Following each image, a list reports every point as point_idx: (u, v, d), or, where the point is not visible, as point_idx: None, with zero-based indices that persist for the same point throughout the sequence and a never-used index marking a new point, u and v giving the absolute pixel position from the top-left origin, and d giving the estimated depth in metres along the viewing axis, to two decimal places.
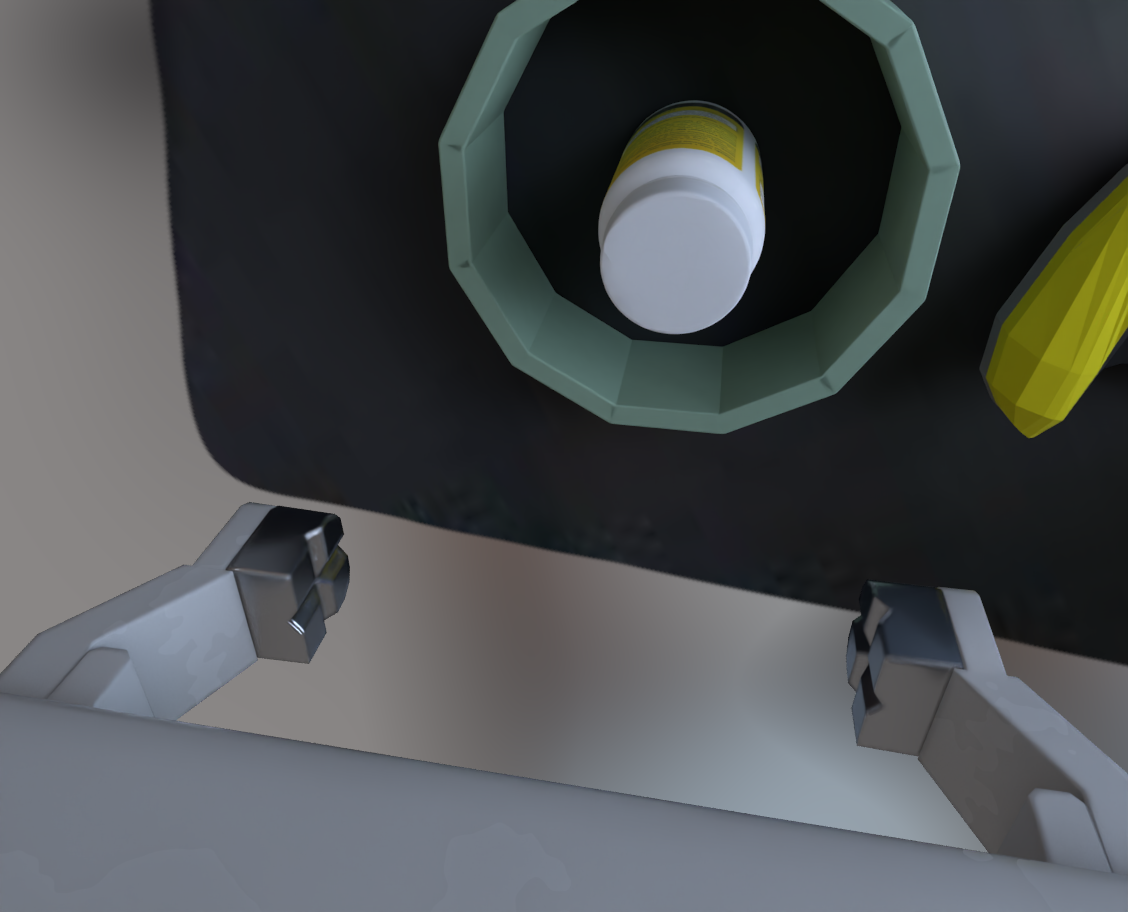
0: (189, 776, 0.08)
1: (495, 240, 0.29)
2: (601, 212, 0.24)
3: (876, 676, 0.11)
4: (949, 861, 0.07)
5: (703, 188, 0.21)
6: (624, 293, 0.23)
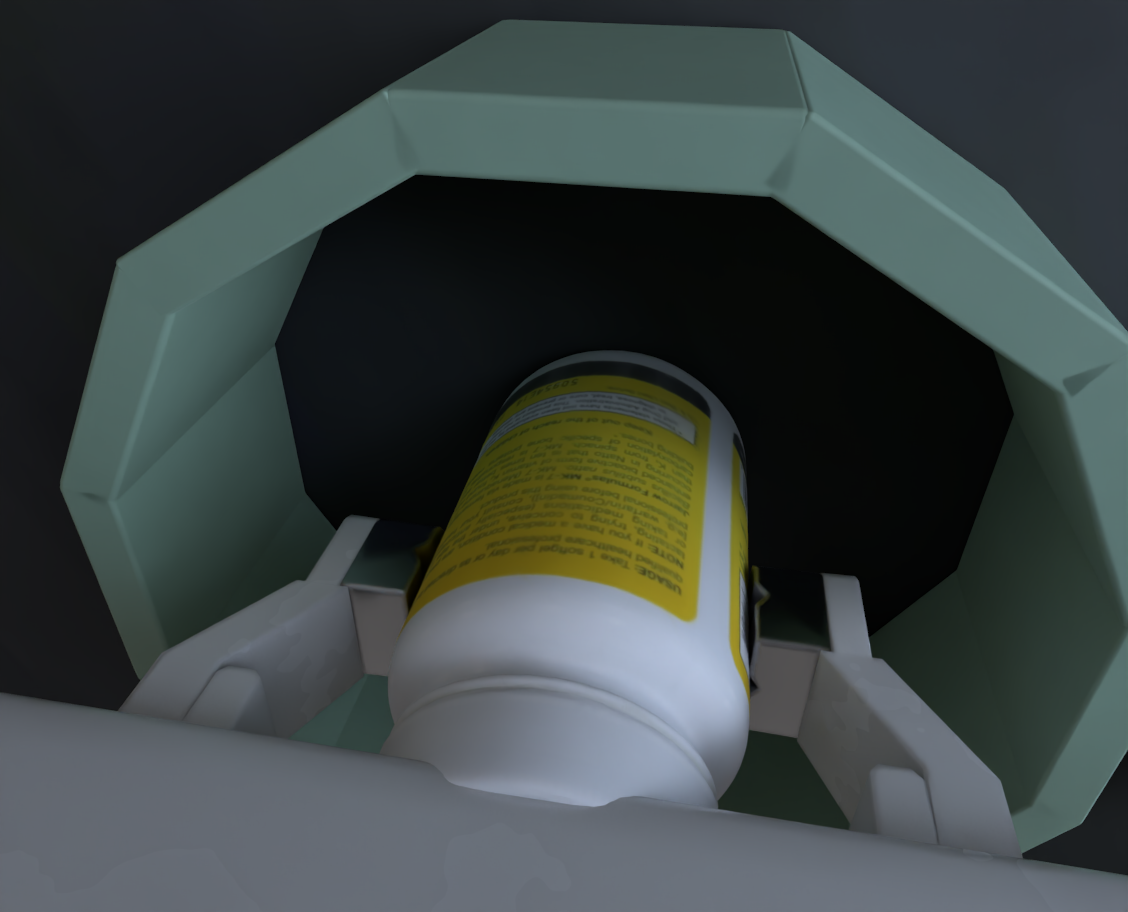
0: (189, 776, 0.08)
1: (259, 577, 0.16)
2: (389, 672, 0.11)
3: (751, 659, 0.11)
4: (949, 861, 0.07)
5: (593, 745, 0.08)
6: None
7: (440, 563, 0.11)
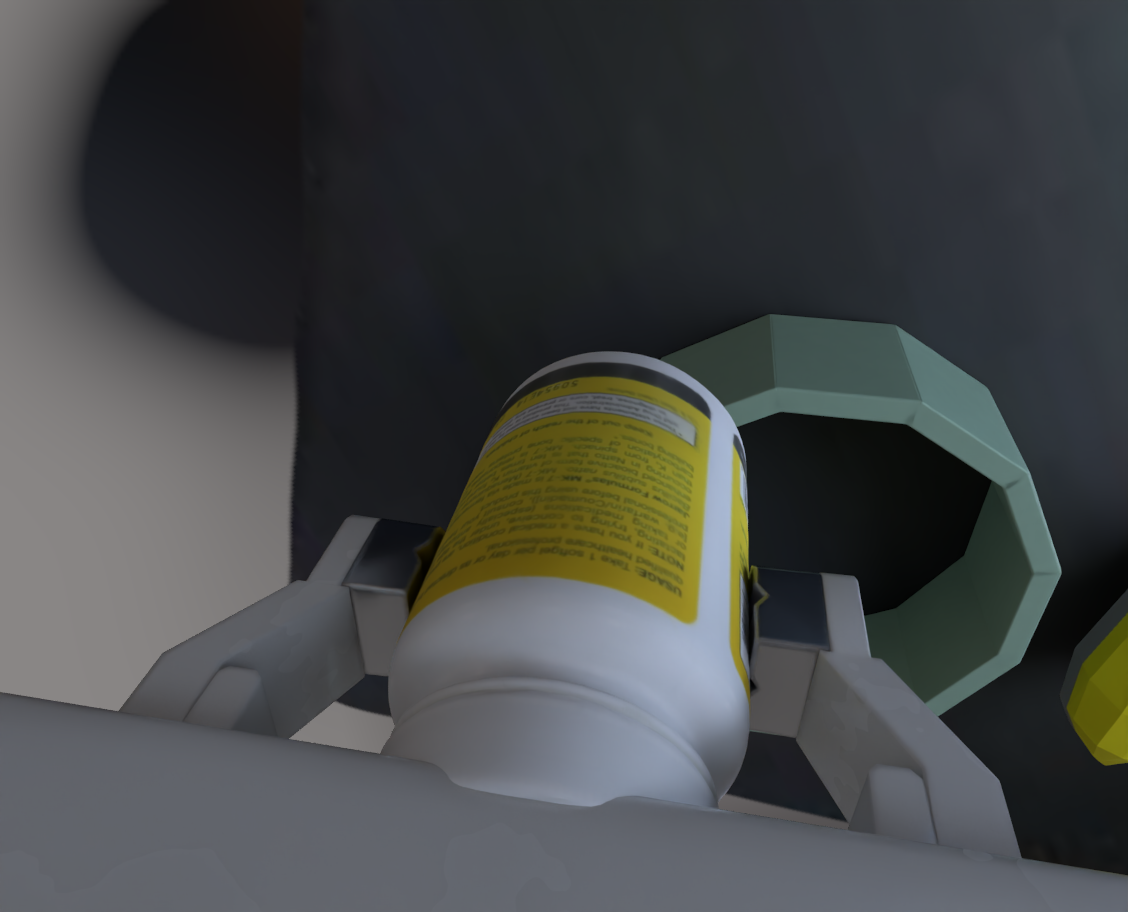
0: (189, 776, 0.08)
1: None
2: (389, 674, 0.11)
3: (750, 658, 0.11)
4: (949, 861, 0.07)
5: (593, 750, 0.08)
6: None
7: (440, 565, 0.11)
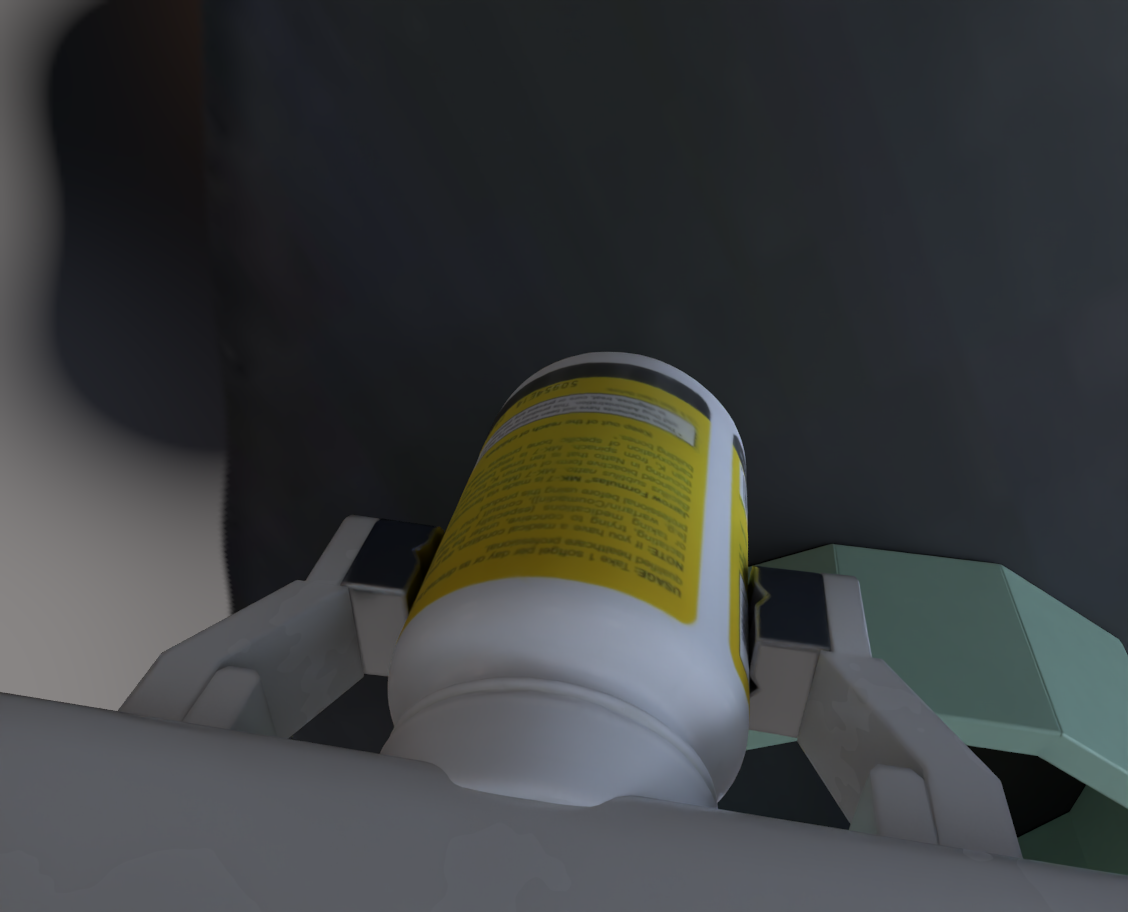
0: (189, 776, 0.08)
1: None
2: (389, 674, 0.11)
3: (751, 659, 0.11)
4: (949, 861, 0.07)
5: (592, 749, 0.08)
6: None
7: (440, 565, 0.11)
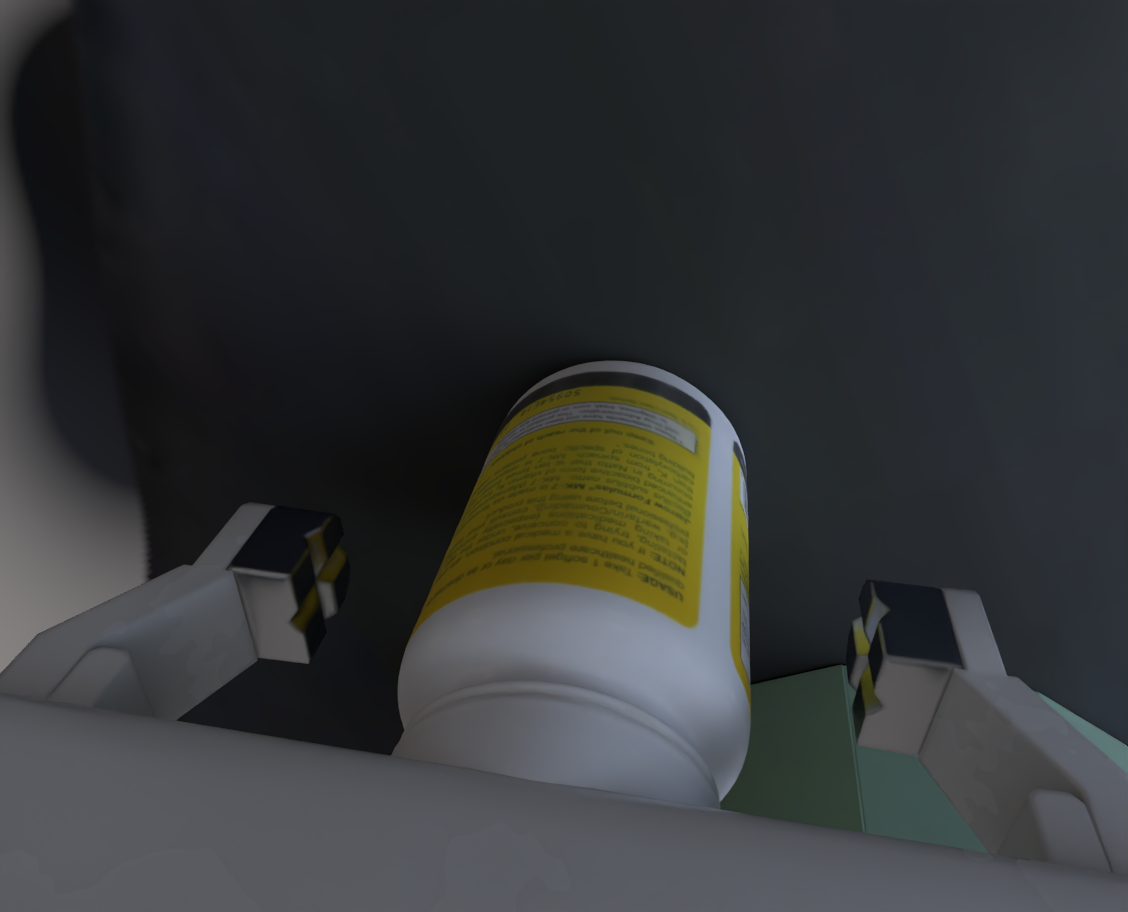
0: (189, 776, 0.08)
1: None
2: (399, 678, 0.11)
3: (876, 676, 0.11)
4: (949, 861, 0.07)
5: (598, 750, 0.09)
6: None
7: (448, 571, 0.11)
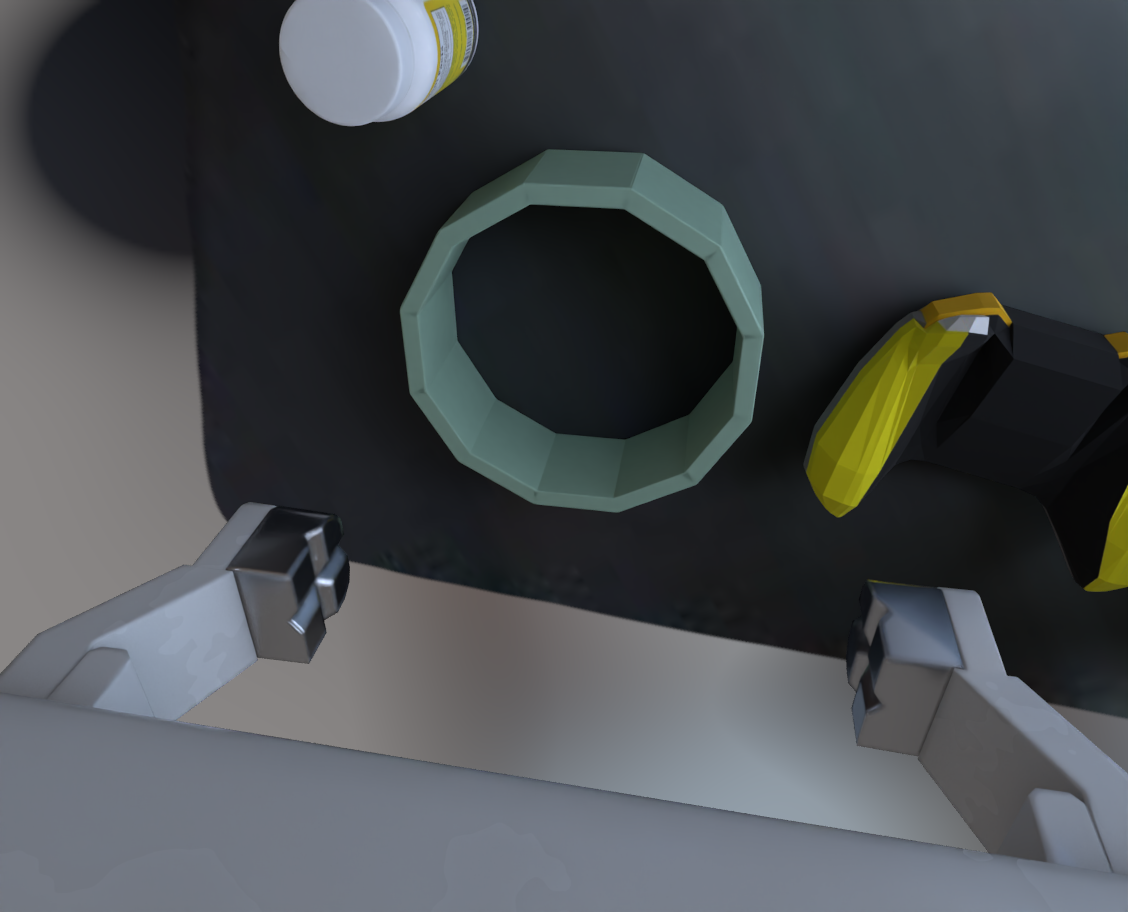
0: (189, 776, 0.08)
1: (446, 367, 0.38)
2: None
3: (876, 676, 0.11)
4: (949, 861, 0.07)
5: None
6: (304, 87, 0.27)
7: None
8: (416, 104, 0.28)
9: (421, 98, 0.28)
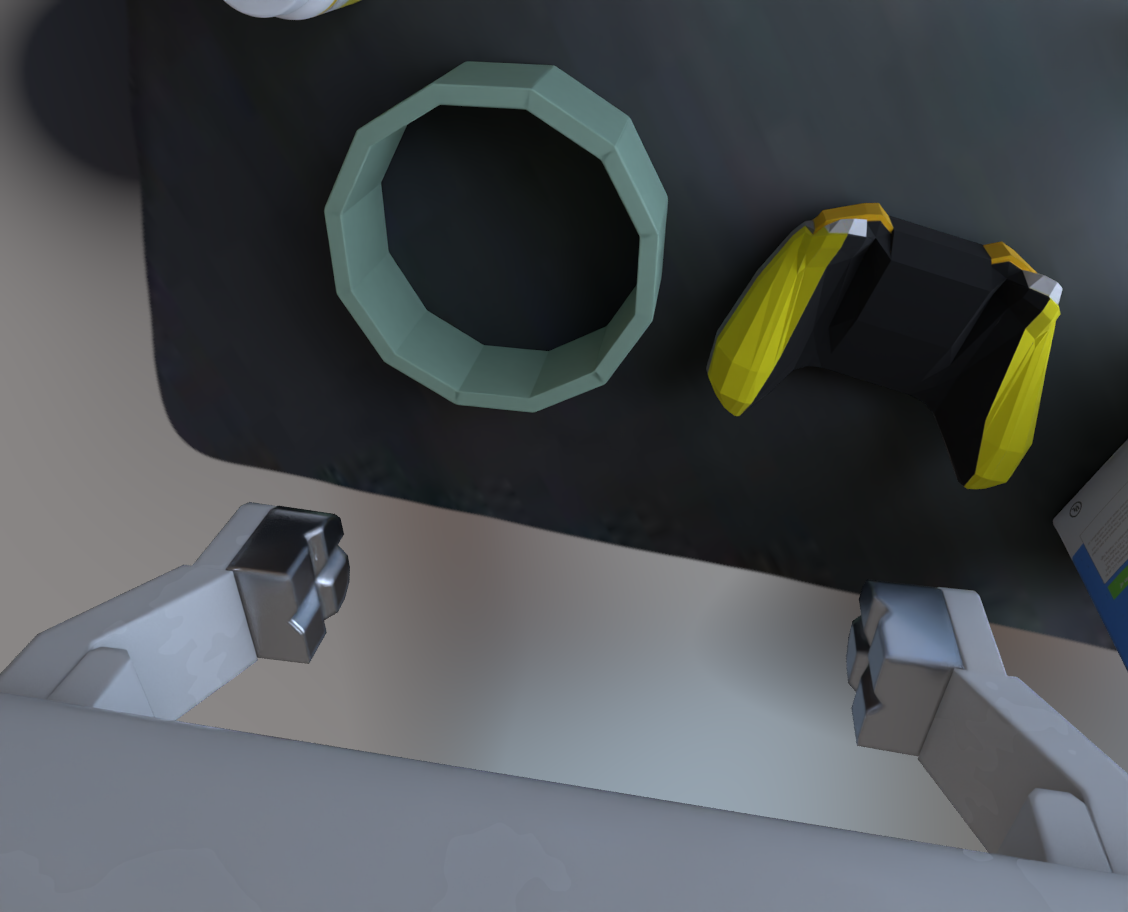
0: (189, 776, 0.08)
1: (374, 273, 0.41)
2: None
3: (876, 676, 0.11)
4: (949, 861, 0.07)
5: None
6: None
7: None
8: (328, 2, 0.31)
9: None
